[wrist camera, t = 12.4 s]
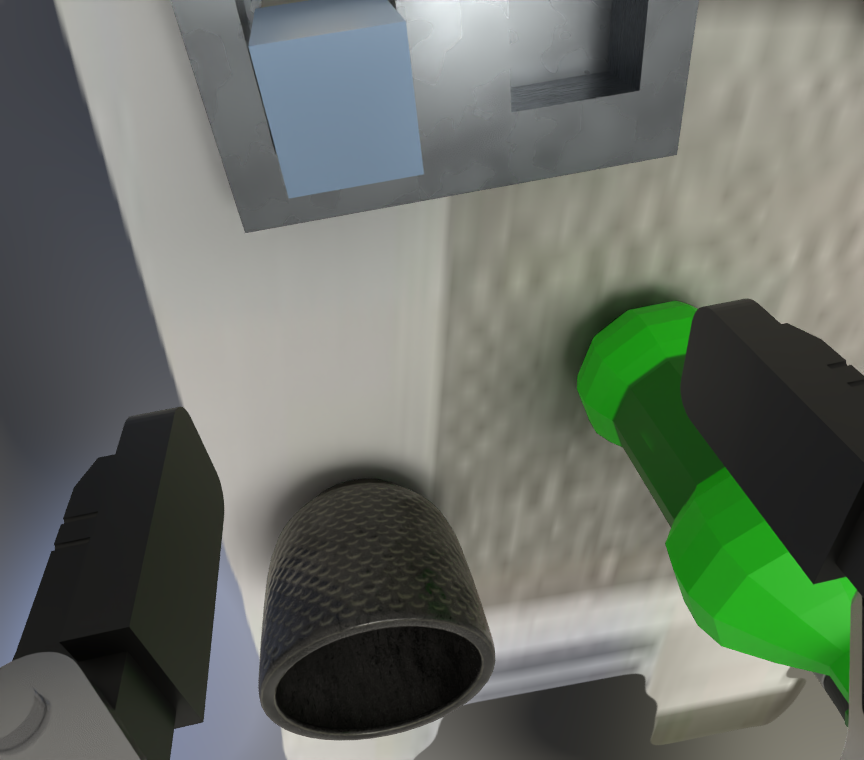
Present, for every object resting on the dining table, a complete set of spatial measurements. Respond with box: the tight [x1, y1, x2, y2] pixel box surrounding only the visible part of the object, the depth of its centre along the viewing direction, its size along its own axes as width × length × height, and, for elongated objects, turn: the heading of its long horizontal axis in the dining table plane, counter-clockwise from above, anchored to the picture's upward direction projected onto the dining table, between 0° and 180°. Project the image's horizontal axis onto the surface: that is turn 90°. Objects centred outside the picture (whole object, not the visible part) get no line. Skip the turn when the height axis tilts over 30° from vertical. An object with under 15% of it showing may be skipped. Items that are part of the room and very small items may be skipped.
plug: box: [248, 0, 424, 198], centre depth 23 cm, size 4×4×10 cm
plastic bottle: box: [577, 301, 857, 727], centre depth 32 cm, size 10×10×25 cm
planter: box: [259, 479, 495, 740], centre depth 42 cm, size 14×14×13 cm
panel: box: [171, 0, 699, 233], centre depth 26 cm, size 20×12×4 cm, turn 96°
